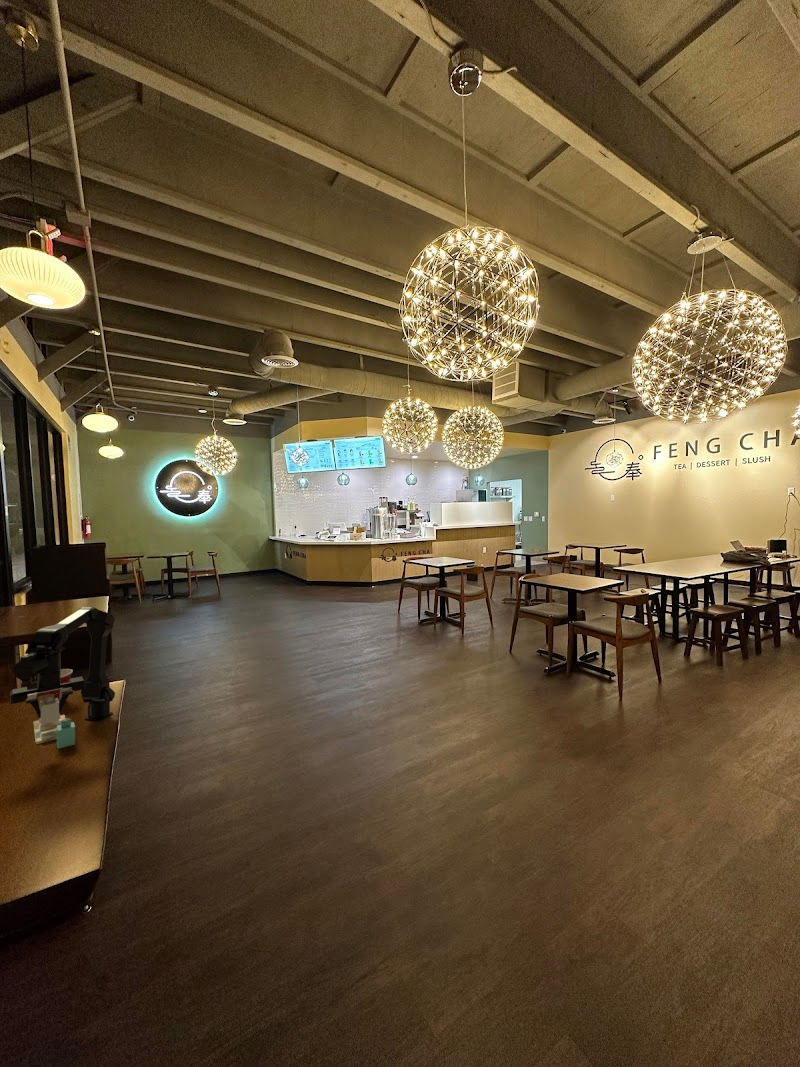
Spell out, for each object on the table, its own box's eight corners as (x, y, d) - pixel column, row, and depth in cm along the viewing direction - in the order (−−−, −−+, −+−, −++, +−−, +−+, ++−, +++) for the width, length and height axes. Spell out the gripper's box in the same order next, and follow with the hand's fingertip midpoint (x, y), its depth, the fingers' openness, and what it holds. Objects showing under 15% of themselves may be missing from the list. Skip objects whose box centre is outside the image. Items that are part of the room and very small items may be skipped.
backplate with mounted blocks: (64, 716, 164) (64, 709, 164) (69, 735, 150) (69, 728, 150) (33, 723, 158) (33, 716, 158) (35, 744, 144) (35, 736, 144)
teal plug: (73, 739, 148) (73, 716, 148) (74, 744, 145) (75, 720, 144) (56, 743, 145) (56, 719, 145) (57, 748, 142) (58, 724, 141)
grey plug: (57, 715, 143) (57, 691, 143) (59, 720, 140) (58, 696, 139) (39, 719, 140) (39, 695, 140) (40, 725, 137) (40, 700, 136)
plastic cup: (39, 700, 177) (39, 671, 177) (72, 694, 184) (73, 666, 183) (37, 710, 169) (37, 679, 168) (72, 703, 175) (72, 674, 175)
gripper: (81, 655, 151) (81, 699, 152) (9, 667, 139) (10, 715, 139) (86, 664, 143) (86, 710, 144) (10, 677, 130) (10, 728, 131)
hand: (49, 715), depth 140 cm, fingers closed on grey plug, 4 cm apart
